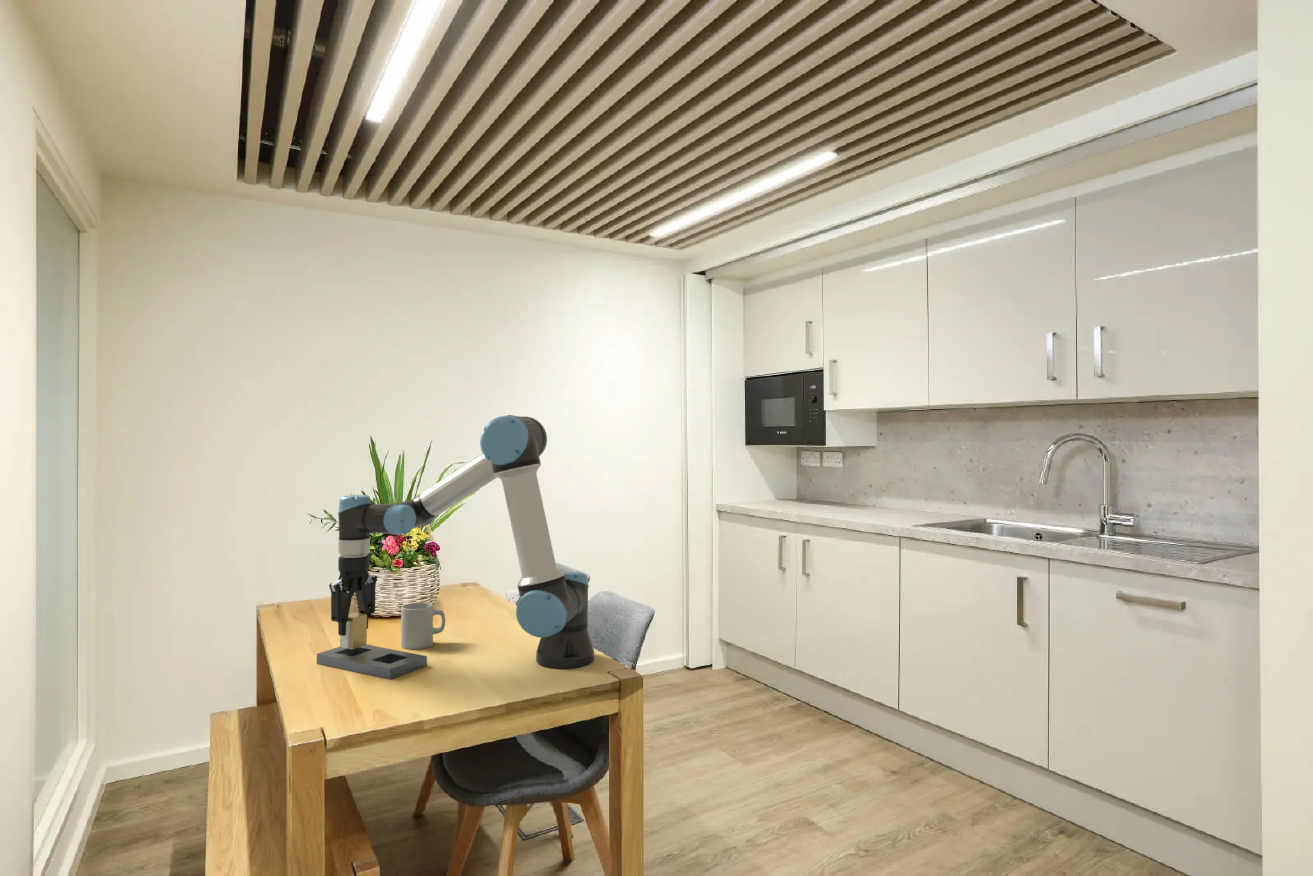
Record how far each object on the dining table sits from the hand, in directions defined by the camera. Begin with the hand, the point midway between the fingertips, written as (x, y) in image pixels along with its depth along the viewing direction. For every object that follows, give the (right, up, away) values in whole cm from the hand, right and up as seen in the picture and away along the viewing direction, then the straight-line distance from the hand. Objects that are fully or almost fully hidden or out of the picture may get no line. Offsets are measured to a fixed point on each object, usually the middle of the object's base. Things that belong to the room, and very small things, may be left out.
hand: (353, 644), depth 195 cm
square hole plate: (+6, -4, -3) cm, 8 cm away
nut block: (0, 0, 0) cm, 0 cm away
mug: (+13, -4, +16) cm, 21 cm away
